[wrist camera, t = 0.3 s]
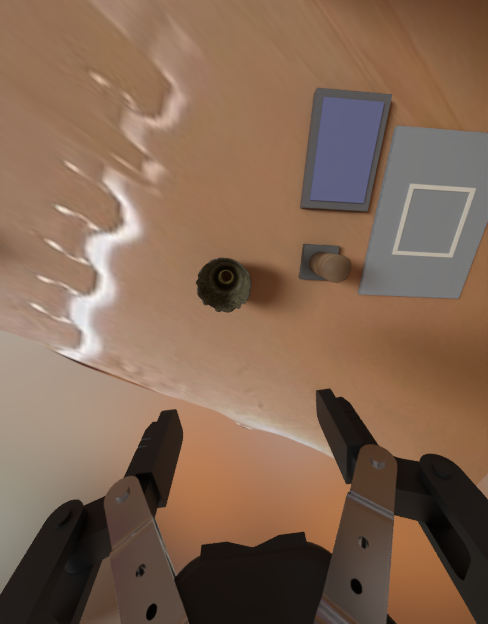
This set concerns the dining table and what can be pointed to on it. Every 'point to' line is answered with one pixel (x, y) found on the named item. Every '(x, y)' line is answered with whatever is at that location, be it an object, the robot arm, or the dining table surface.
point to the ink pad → (343, 149)
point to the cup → (223, 285)
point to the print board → (428, 214)
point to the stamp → (323, 263)
